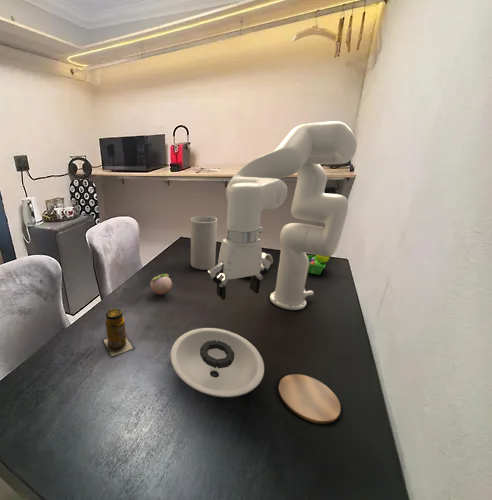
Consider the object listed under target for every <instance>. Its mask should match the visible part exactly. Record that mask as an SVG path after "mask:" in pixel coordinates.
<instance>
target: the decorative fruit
mask: <svg viewBox="0 0 492 500" xmlns="http://www.w3.org/2000/svg"><path fill="white" fill-rule="evenodd" d="M172 285H173V283H172V279H171V278H170V274H168V273H160V274H158V275H157V276H154V277H153V278H152V279H151V281H150V289H151V290H152V292H154V293H155V294H156V295H164V294H167V293H169V292H170V290H171V289H172Z"/></svg>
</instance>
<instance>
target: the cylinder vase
mask: <svg viewBox="0 0 492 500" xmlns="http://www.w3.org/2000/svg"><path fill="white" fill-rule="evenodd" d="M217 232H218V218H217V217H215V216H210V215H199V216H194V217H191V218H190V266H191V267H192V268H194V269H195V270H198V271H199V270H201V271H208V270H210V269H211V268H213V267H214V266H216V253H217V234H218V233H217Z"/></svg>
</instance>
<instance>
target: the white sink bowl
mask: <svg viewBox="0 0 492 500" xmlns="http://www.w3.org/2000/svg"><path fill="white" fill-rule="evenodd" d="M213 340H216V342H217V341H221V342H224V343H226V344H228V345H229V346H230V347H231V349H232V350H233V352H234V360H233V362H232V364H231V366H230V365H229V367H225V368H219V369H218V367H216V368H214V367H212V366H209V365H207V364H205V363H206V362H203V360H202V358H201V356H200V348H201V347H202V345H203V344H204V343H206V342H207V341H213ZM207 353H208V354H209V356H211V357H213V358H216V359H222V358H225V357H226V356H227V355H226V354H225V352H224V351H222V350H219V349H217V348H216V349H210V350H209V351H208V352H207ZM170 362H171V365H172V368H173V370H174V371H175V374H177V376H178V377H179V378H180V380H182V382H184V383H185V384H186V385H188V386H189V387H190V388H192V389H194V390H196V391H197V392H200V393H202V394H205V395H208V396H212V397H218V398H235V397H240V396H243V395H246V394H248V393H250V392H252V391H254V390H255V388H256V389H257V387H258V386H260V383H261V382H262V380H263V378H264V375H265V364H264V360H263V357H262V356H261V354H260V352H259V351H258V349H257V348H256V347H255V346H254V345H253V344H252V343H251V342H250V341H248V340H247V339H246V338H244V337H242V336H241V335H239V334H238V333H234V332H232V331H229V330H227V329H222V328H216V327H201V328H196V329H195V328H194V329H192V330H189V331H186V332H185V333H183V334H181V335H180V336H179V337H178V338H177V339H176V340H175V342H174V343H173V345H172V347H171V350H170ZM211 372H216V373H217V374H218V376H217V377H214V376H212V375H211Z"/></svg>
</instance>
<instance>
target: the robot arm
mask: <svg viewBox="0 0 492 500" xmlns="http://www.w3.org/2000/svg"><path fill="white" fill-rule="evenodd" d="M357 145H358V142H357V137H356V135H355V134H354V132H353V130H351V128H350V127H349V126H348V125H347V124H346V123H344V122H342V121H339V120H338V121H337V120H335V121H333V120H332V121H322V122H321V121H320V122H312V123H311V122H310V123H304V124H300V125H297V126H296V127H293V129H291V130H290V132H289V133H288V134H287V135H285V137H284V138H283V139H282V141H281V142H280V143H279V144H278V145H277V147H276V148H275V149H274V150H272V151H270V152H268V153H265V154H263V155H261V156H259V157H256V158H255V159H253V160H250V161H248V162H247V163H245V164H244V165H242V166H241V167H240V168H239V169H238V170H237V171H236V173H235V174H234V175H233V176H232V178H231V179H230V180H229V182H228V183H227V185H226V186H227V187H226V190H225V197H226V200H227V211H226V212H227V213H226V230H225V231H226V233H225V238H223V239H222V242H221V245H220V249H219V253H218V254H219V255H218V260H217V264H215V266H214V267H213V268H211V269H208V270H207V274H208V276H209V277H210V279H211V280H212V281H213V282H214V284H216V295H217V296H218V297H219V298H220V299H221V300H222V301H225V300H226V295H227V286H226V284H227V282H228V281H229V280H236V279H242V278H247V277H250V281H249V289H250V290H251V291H252V292H254V294H259V292H260V288H261V281H262V280H263V279H264V276H265V275H266V274H267V273H268V270H269V268H270V267H271V265H272V264H271V262H270V261H268V260H266V259H263V258H262V253H263V250H262V242H261V238H260V234H261V233H264V228H263V227H262V226H261V218H262V212H263V211H271V210H275V209H278V208H279V207H280V206H282V205H283V203H284V202H285V201H286V200H287V197H288V186H287V184H286V182H285V181H284V180H282V179H284V178H286V177H290V176H293V175H295V174H297V177H296V178H297V179H296V185H295V189H294V194H293V199H292V203H291V209H290V214H291V216H292V217H293V218H294V219H297V220H302V221H309V222H316V223H322V224H324V226H321V225H320V226H319V225H313V224H308V223H301V222H291V223H286V224H284V226H283V227H282V228H281V229H280V233H279V241H280V243H279V244H280V254H279V262H278V268H277V275H276V283H275V289H274V291H273V292H271V293H270V294H269V300H270V302H271V303H272V304H273V305H275V306H277V307H279V308H281V309H285V310H288V311H289V310H290V311H299V310H302V309H304V308H305V307H306V306H307V300H306V298H307V297H311V296H314V294H315V293H314V291H313V290H307V291H306V288H305V287H306V282H307V278H308V277H307V276H308V267H309V260H308V254H311V255H315V256H316V255H321V256H330V257H331V256H333V255H334V254H335V253H336V252H337V250H338V247H339V245H340V240H341V237H342V233H343V230H344V226H345V222H346V219H347V214H348V209H349V200H348V198H347V197H346V196H345V195H342V194H338V193H325V189H326V186H327V183H328V175H327V173H326V171H325V169H324V167H323V166H322V165H344V164H347V163H348V162H350V161H351V160H352V159H353V158H354V156H355V153H356V151H357ZM307 253H308V254H307ZM261 264H263V265H262V267H261ZM217 273H219V274H218V275H216V274H217Z"/></svg>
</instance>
